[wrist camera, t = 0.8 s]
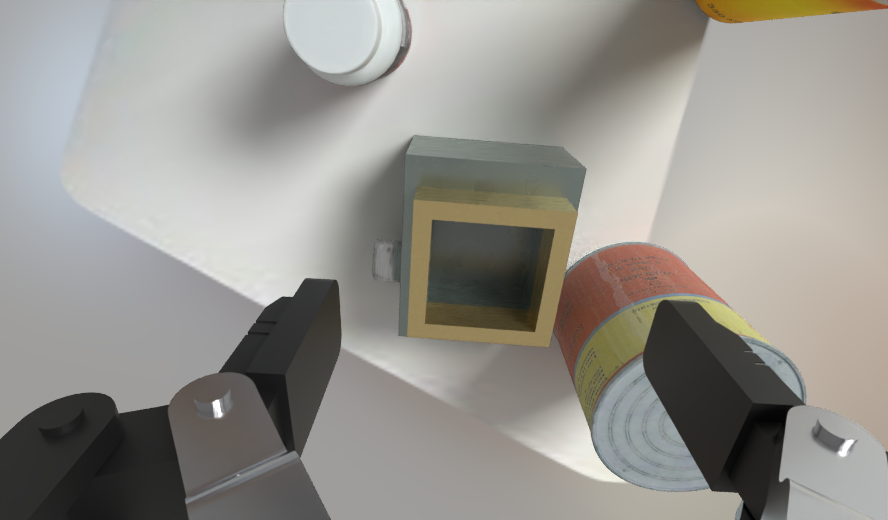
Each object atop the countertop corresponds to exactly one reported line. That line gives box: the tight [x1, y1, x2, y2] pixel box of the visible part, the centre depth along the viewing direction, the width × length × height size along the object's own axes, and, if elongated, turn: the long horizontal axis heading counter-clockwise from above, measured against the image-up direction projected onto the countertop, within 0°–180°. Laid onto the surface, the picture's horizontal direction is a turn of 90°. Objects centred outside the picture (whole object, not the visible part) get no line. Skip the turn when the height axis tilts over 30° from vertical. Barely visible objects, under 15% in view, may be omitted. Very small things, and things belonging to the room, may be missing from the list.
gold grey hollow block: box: [373, 135, 586, 347], centre depth 29 cm, size 12×12×8 cm
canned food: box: [553, 242, 806, 492], centre depth 30 cm, size 11×11×12 cm
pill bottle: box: [283, 0, 412, 86], centre depth 23 cm, size 5×5×10 cm
